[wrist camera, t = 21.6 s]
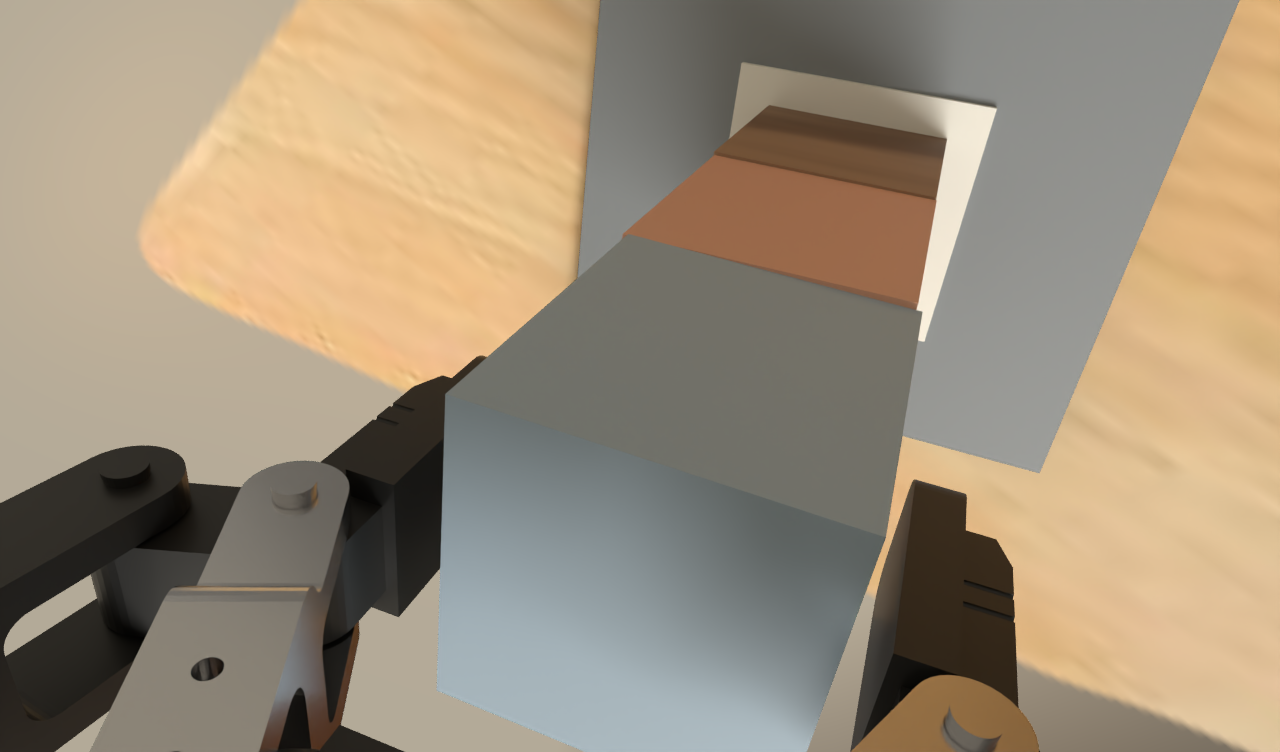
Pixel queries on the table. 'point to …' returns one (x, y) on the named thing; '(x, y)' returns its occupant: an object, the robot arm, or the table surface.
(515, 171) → the table surface
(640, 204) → the building board
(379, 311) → the table surface
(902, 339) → the slate blue block
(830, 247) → the terracotta block
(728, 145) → the walnut block
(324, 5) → the table surface
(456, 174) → the table surface
